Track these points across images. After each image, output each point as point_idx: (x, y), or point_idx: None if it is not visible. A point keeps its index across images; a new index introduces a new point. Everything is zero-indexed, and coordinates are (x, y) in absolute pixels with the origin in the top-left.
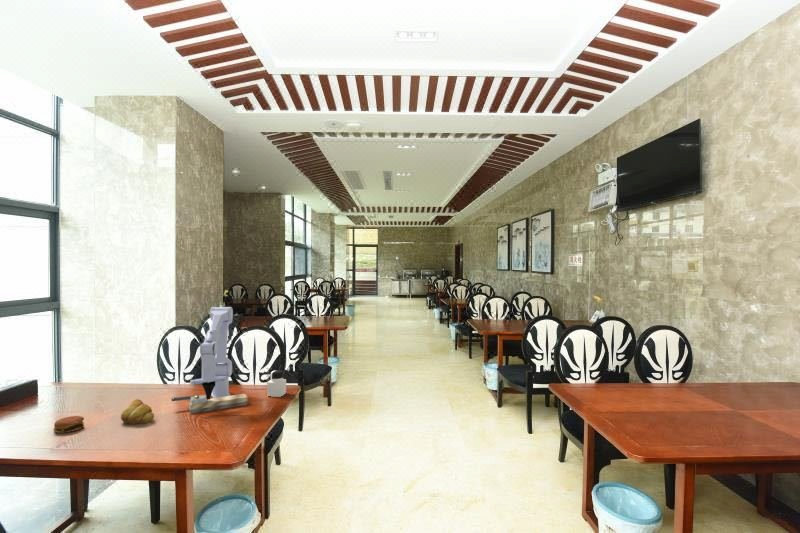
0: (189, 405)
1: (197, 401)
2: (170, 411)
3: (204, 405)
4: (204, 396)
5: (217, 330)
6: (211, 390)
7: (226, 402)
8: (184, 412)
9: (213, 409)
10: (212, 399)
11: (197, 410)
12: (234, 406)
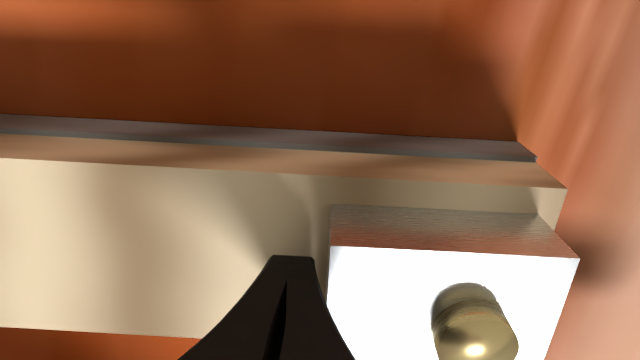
0: None
1: (471, 228)
2: (632, 325)
3: (366, 164)
4: (347, 321)
5: None
6: (220, 344)
7: (67, 148)
8: None
9: (257, 129)
10: (234, 294)
11: (446, 145)
12: (9, 115)
